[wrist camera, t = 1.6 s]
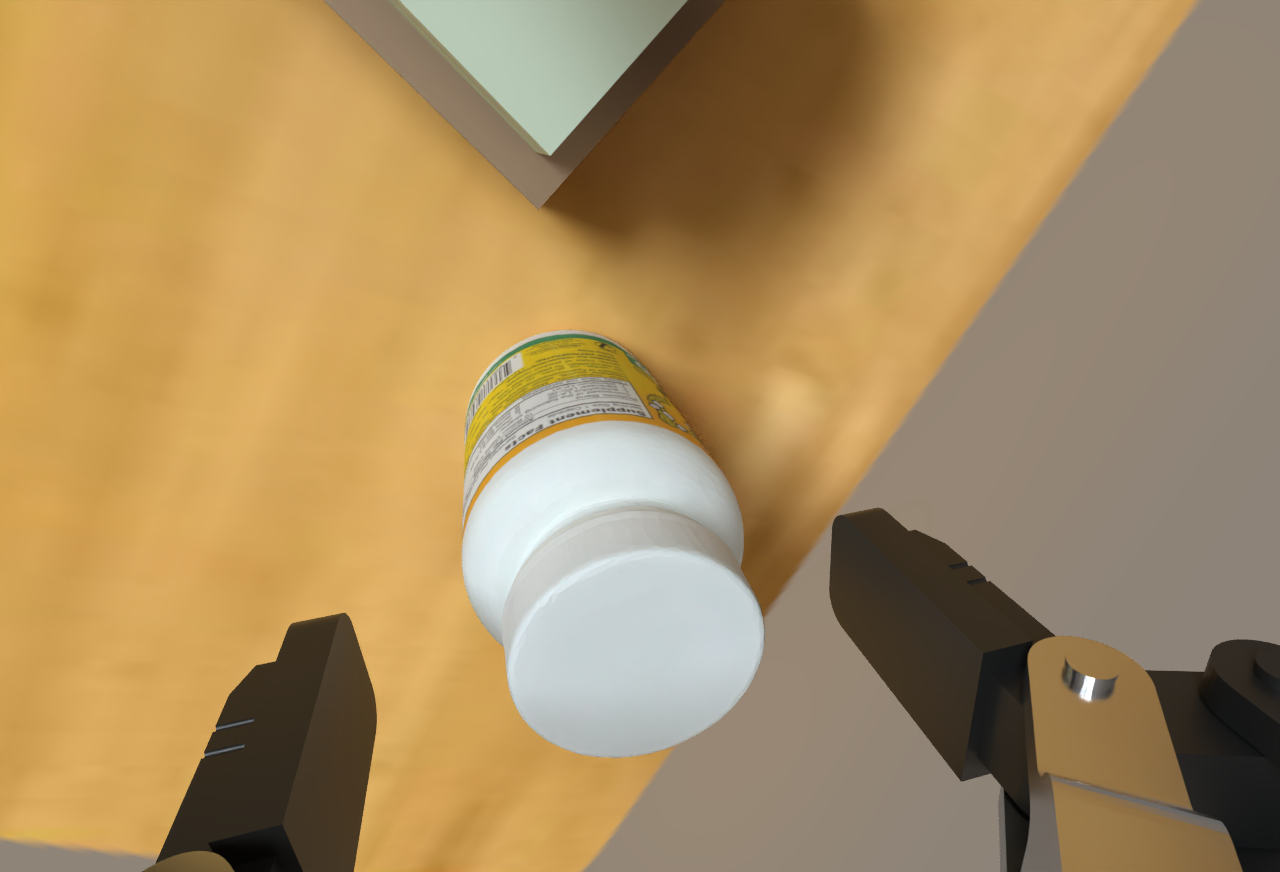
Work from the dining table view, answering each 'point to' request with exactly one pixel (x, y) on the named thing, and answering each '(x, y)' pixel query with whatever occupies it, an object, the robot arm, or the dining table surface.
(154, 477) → the dining table surface
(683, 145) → the dining table surface
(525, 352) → the supplement bottle
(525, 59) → the stepped square pedestal
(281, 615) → the dining table surface
